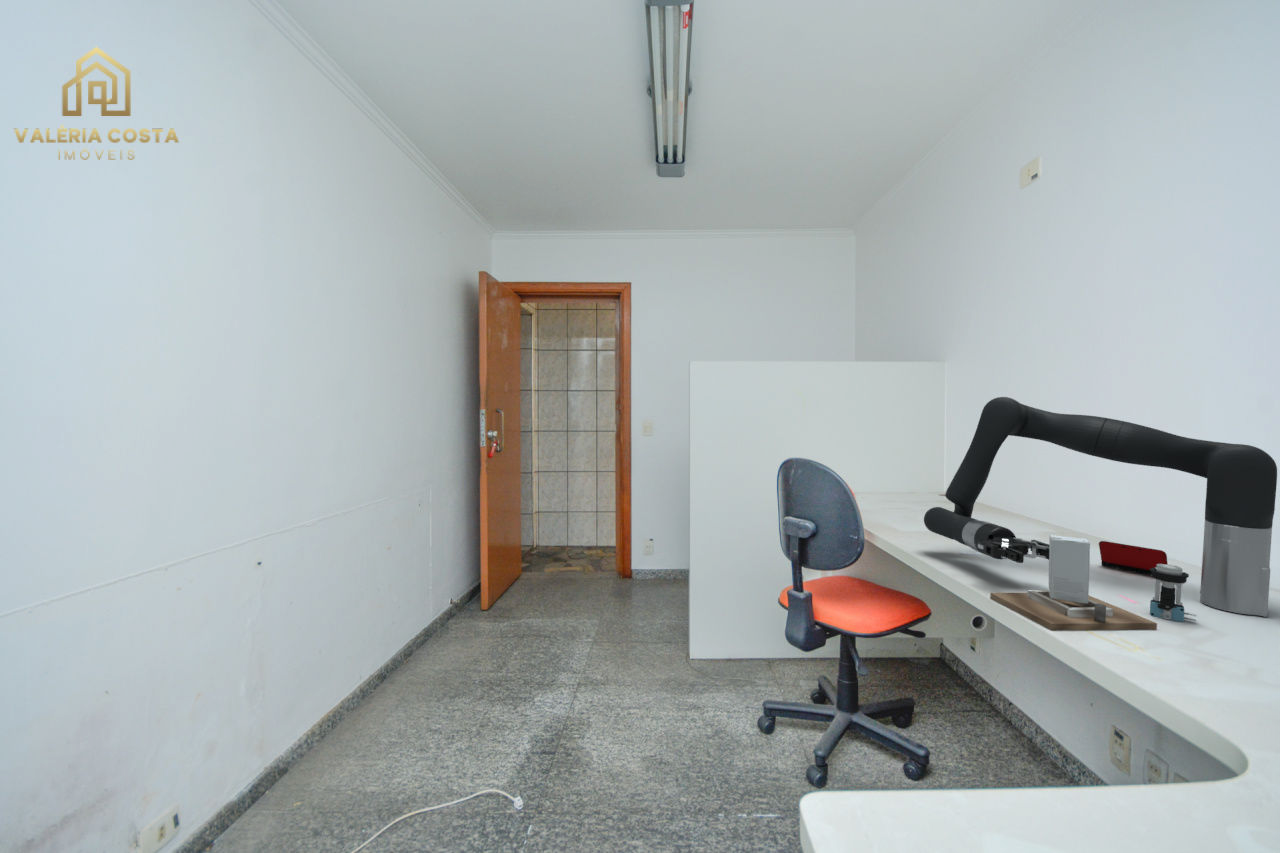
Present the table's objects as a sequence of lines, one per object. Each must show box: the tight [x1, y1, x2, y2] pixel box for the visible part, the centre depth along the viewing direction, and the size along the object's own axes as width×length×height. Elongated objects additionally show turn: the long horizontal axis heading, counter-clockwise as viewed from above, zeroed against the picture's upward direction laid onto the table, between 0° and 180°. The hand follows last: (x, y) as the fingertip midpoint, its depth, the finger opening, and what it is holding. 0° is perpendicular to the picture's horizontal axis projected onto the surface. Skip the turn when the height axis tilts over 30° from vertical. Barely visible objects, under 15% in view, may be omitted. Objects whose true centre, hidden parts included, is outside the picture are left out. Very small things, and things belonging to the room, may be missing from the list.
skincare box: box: [1047, 534, 1091, 604], centre depth 106 cm, size 6×4×12 cm
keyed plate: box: [989, 589, 1158, 631], centre depth 107 cm, size 20×16×4 cm
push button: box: [1149, 564, 1197, 623], centre depth 104 cm, size 7×5×10 cm
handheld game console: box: [1098, 540, 1169, 576], centre depth 135 cm, size 12×11×7 cm
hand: (1041, 558), depth 113 cm, fingers open, 8 cm apart
